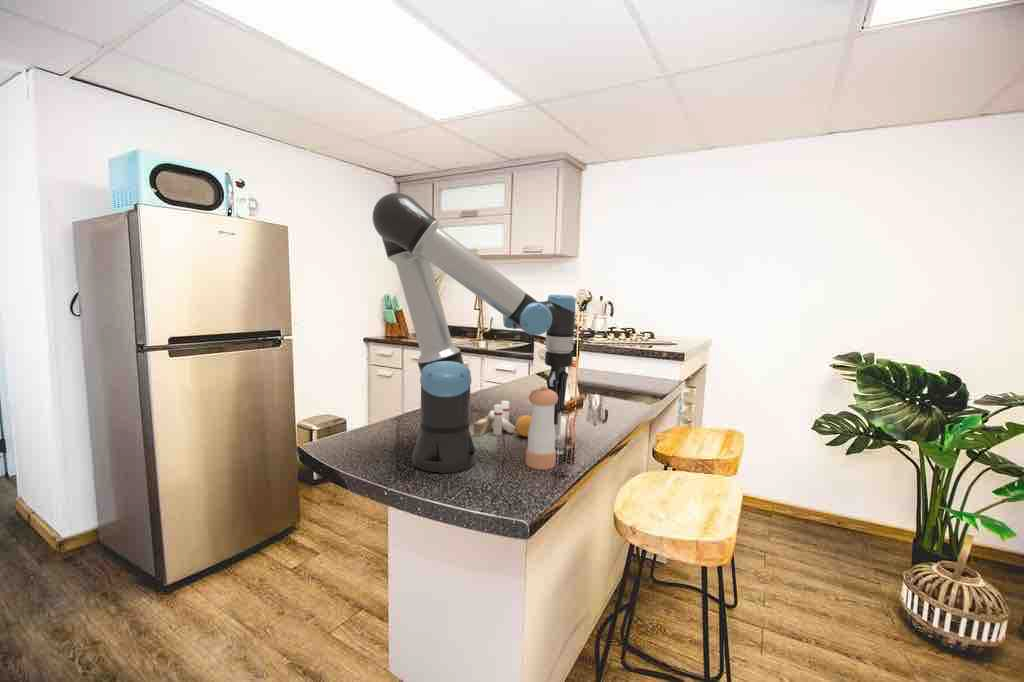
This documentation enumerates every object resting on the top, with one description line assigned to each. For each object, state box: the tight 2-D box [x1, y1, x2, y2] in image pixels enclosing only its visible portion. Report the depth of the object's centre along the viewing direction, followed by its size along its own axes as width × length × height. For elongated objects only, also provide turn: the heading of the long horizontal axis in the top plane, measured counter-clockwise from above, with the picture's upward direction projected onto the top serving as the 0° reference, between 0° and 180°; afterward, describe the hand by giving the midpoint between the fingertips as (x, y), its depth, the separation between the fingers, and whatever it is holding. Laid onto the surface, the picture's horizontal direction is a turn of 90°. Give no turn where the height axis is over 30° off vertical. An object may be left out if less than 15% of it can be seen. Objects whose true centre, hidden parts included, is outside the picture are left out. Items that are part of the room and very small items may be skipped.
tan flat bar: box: [472, 415, 494, 438], centre depth 133 cm, size 14×2×4 cm, turn 157°
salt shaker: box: [525, 385, 558, 471], centre depth 107 cm, size 7×7×19 cm
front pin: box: [486, 409, 516, 434], centre depth 131 cm, size 2×2×8 cm
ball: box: [515, 414, 531, 437], centre depth 128 cm, size 6×6×6 cm
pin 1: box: [492, 403, 503, 436], centre depth 128 cm, size 2×2×8 cm
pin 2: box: [500, 400, 510, 431], centre depth 133 cm, size 2×2×8 cm
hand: (554, 434), depth 125 cm, fingers closed
